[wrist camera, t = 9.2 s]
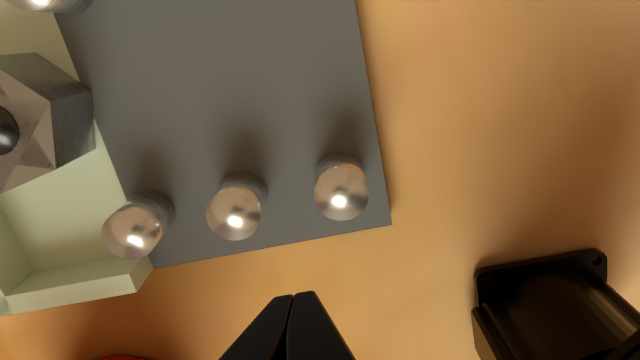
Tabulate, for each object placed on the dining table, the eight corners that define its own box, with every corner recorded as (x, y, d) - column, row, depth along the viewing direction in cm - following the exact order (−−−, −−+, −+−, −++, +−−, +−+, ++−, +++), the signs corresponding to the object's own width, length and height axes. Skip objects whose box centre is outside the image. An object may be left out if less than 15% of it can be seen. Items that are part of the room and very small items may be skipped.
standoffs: (311, -111, 16) (308, -137, 13) (367, 191, 20) (373, 215, 17) (29, -41, 16) (-22, -53, 14) (138, 235, 20) (113, 263, 18)
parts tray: (27, -90, 17) (-33, -114, 14) (160, 258, 22) (136, 292, 19) (-131, -49, 17) (-220, -64, 14) (35, 281, 22) (-6, 318, 20)
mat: (324, -166, 16) (324, -179, 15) (389, 215, 21) (392, 224, 20) (27, -90, 17) (10, -97, 16) (160, 258, 22) (153, 268, 21)
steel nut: (62, 39, 17) (10, 41, 15) (120, 137, 19) (83, 157, 16) (-40, 89, 18) (-109, 100, 15) (24, 180, 20) (-28, 206, 17)
